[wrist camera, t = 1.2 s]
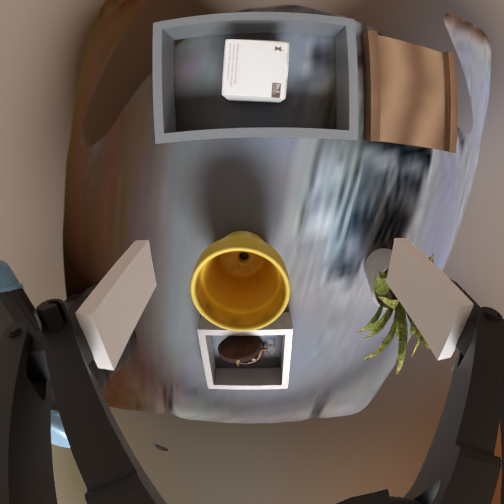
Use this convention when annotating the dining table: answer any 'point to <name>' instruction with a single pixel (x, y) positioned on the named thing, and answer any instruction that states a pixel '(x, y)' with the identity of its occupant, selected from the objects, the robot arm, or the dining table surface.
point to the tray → (409, 93)
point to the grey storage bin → (255, 24)
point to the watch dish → (246, 376)
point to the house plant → (387, 306)
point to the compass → (242, 349)
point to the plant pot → (240, 283)
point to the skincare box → (255, 70)
